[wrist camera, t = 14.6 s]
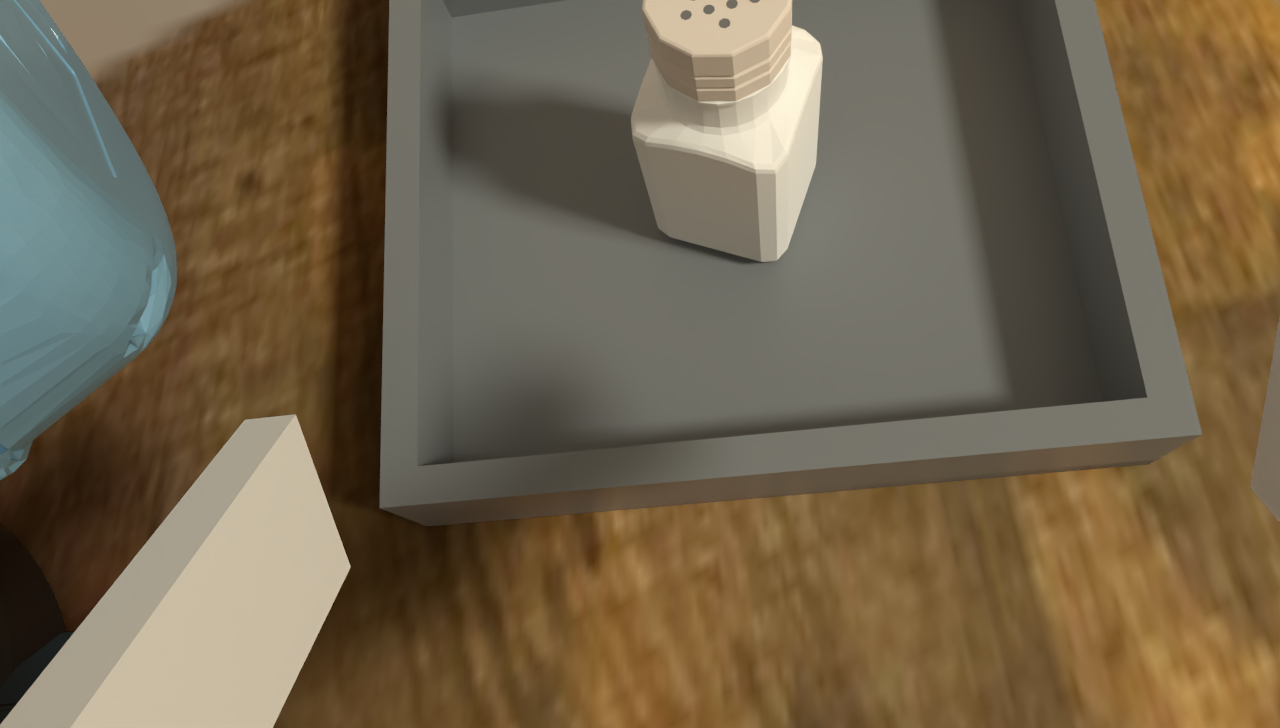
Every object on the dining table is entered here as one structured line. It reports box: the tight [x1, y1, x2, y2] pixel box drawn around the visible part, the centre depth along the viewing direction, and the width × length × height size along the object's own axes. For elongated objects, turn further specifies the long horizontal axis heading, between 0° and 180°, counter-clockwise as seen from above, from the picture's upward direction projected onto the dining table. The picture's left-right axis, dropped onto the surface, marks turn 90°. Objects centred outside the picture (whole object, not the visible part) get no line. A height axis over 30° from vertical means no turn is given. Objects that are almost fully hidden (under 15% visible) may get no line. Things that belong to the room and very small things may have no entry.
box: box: [379, 0, 1202, 527], centre depth 28 cm, size 20×18×4 cm
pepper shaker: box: [631, 0, 823, 262], centre depth 25 cm, size 4×4×10 cm
